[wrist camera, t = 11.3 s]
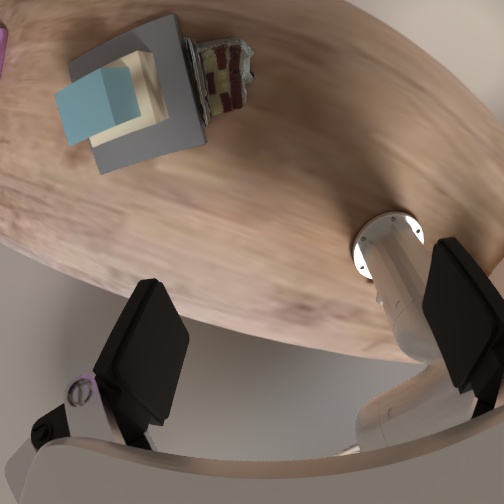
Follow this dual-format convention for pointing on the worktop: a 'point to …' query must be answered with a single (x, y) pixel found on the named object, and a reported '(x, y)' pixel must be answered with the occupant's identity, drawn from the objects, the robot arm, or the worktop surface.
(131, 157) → the stacking base
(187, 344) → the robot arm
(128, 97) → the teal block
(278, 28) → the worktop surface
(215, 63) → the chocolate cake
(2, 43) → the teakettle
